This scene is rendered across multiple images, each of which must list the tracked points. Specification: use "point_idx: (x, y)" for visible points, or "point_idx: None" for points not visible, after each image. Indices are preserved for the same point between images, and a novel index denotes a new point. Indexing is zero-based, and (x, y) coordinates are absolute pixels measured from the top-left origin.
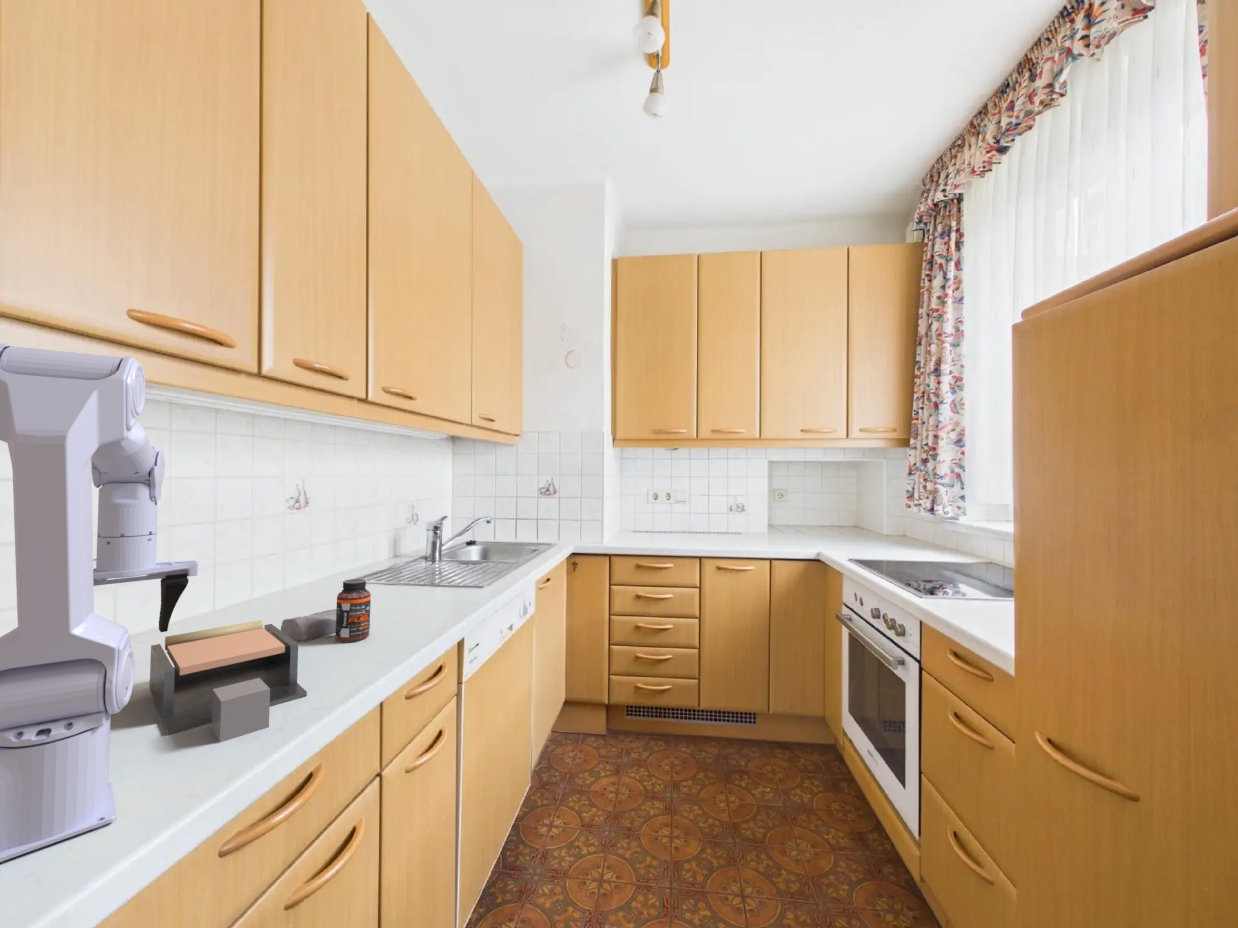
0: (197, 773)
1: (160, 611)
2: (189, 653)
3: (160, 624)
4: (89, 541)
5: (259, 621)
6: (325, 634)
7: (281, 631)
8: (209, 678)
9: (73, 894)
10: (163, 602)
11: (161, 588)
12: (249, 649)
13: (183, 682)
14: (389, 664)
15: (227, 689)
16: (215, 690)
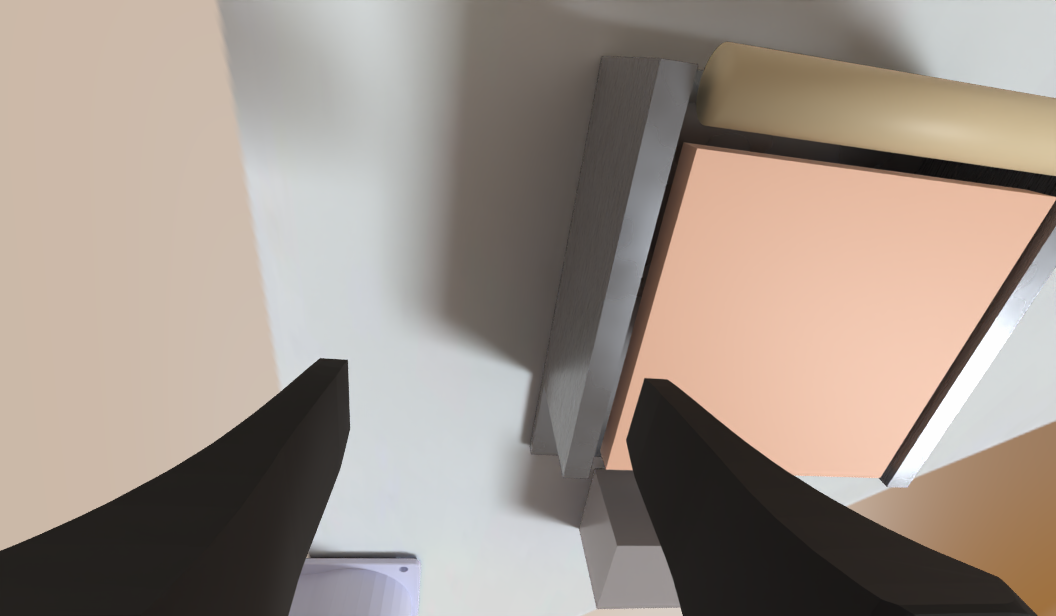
0: (518, 590)
1: (688, 445)
2: (692, 341)
3: (641, 452)
4: None
5: None
6: None
7: (1023, 314)
8: None
9: None
10: (695, 581)
11: (787, 580)
12: (810, 441)
13: (681, 133)
14: (1009, 420)
15: (634, 565)
16: (617, 555)
